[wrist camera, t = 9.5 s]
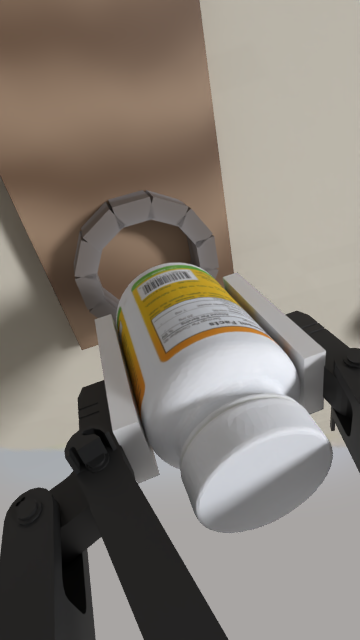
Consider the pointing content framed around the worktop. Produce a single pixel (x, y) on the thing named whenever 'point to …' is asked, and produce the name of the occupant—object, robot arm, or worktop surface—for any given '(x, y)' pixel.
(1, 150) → the board
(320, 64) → the worktop surface
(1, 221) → the worktop surface
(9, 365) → the worktop surface
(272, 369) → the supplement bottle
